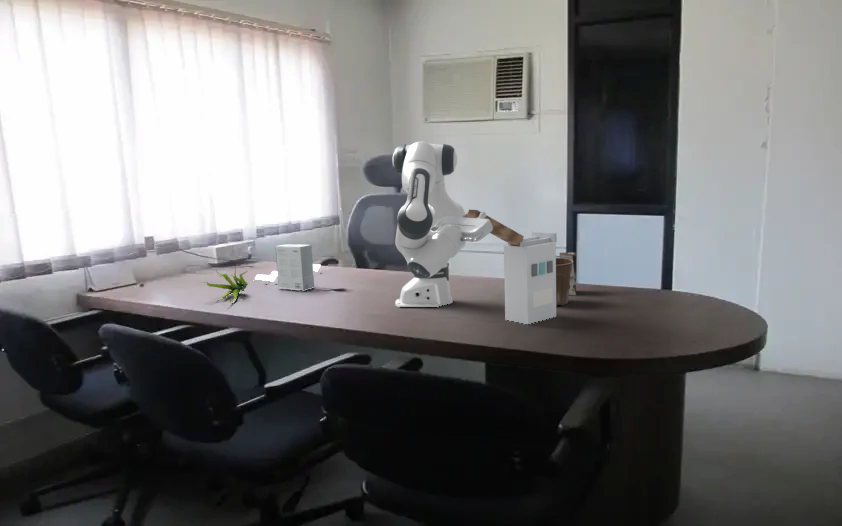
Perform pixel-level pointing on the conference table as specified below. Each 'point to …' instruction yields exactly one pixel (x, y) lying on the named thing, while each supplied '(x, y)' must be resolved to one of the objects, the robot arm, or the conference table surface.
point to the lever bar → (500, 229)
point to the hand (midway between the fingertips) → (478, 213)
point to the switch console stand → (531, 279)
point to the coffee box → (573, 273)
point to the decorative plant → (233, 287)
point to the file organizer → (274, 274)
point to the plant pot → (562, 280)
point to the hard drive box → (295, 266)
